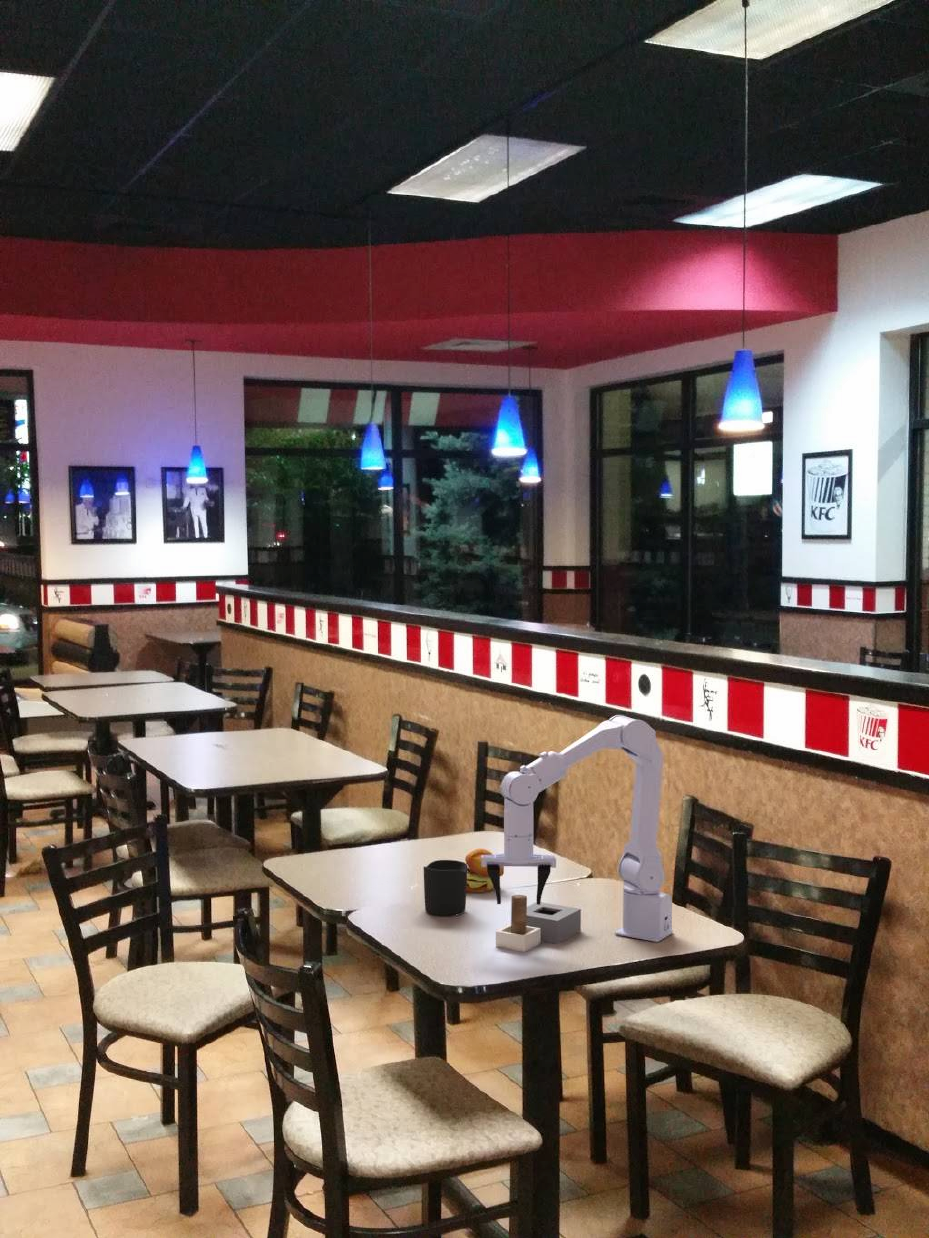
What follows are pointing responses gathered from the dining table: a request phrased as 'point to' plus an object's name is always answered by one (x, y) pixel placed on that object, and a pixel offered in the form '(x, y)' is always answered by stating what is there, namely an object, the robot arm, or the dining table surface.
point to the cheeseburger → (478, 872)
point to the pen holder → (445, 887)
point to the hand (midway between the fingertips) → (518, 903)
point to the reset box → (554, 921)
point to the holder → (518, 938)
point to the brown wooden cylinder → (518, 914)
